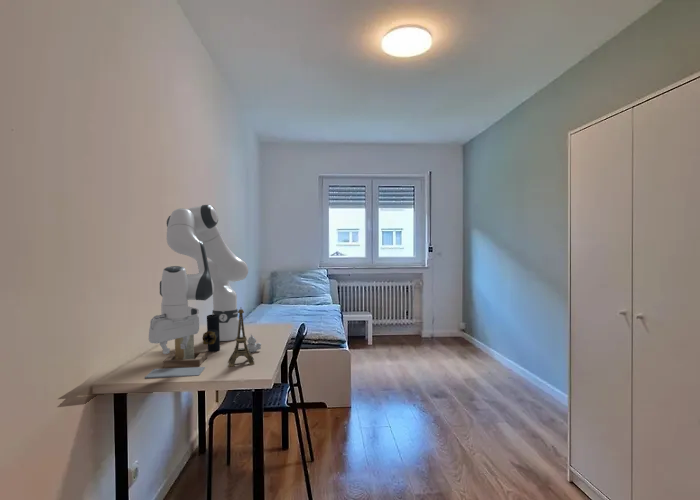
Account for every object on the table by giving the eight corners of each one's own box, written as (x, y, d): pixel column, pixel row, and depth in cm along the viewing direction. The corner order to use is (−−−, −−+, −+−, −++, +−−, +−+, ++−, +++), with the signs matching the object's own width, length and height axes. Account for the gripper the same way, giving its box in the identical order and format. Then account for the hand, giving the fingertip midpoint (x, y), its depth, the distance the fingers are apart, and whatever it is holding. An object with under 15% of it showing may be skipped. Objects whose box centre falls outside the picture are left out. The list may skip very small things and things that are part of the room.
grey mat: (154, 370, 164) (154, 368, 164) (205, 368, 166) (205, 366, 166) (144, 378, 154) (144, 377, 154) (199, 376, 156) (199, 374, 156)
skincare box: (185, 360, 177) (185, 329, 177) (194, 361, 176) (194, 330, 176) (174, 364, 171) (174, 332, 171) (184, 365, 170) (183, 333, 170)
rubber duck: (245, 351, 191) (245, 332, 191) (261, 350, 193) (261, 332, 192) (244, 354, 186) (244, 335, 186) (261, 353, 187) (261, 334, 187)
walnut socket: (173, 359, 179) (172, 352, 179) (206, 357, 181) (206, 351, 181) (163, 368, 166) (163, 361, 166) (199, 366, 168) (199, 360, 168)
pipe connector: (215, 356, 185) (214, 321, 183) (202, 357, 184) (200, 321, 183) (221, 347, 196) (220, 314, 194) (209, 348, 196) (207, 314, 194)
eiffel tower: (227, 368, 165) (226, 301, 165) (227, 361, 175) (226, 297, 175) (256, 366, 168) (255, 299, 168) (254, 359, 178) (254, 296, 178)
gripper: (157, 317, 148) (158, 358, 149) (202, 309, 167) (202, 346, 167) (143, 315, 151) (144, 356, 151) (189, 308, 170) (189, 344, 170)
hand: (175, 351), depth 159 cm, fingers open, 7 cm apart
